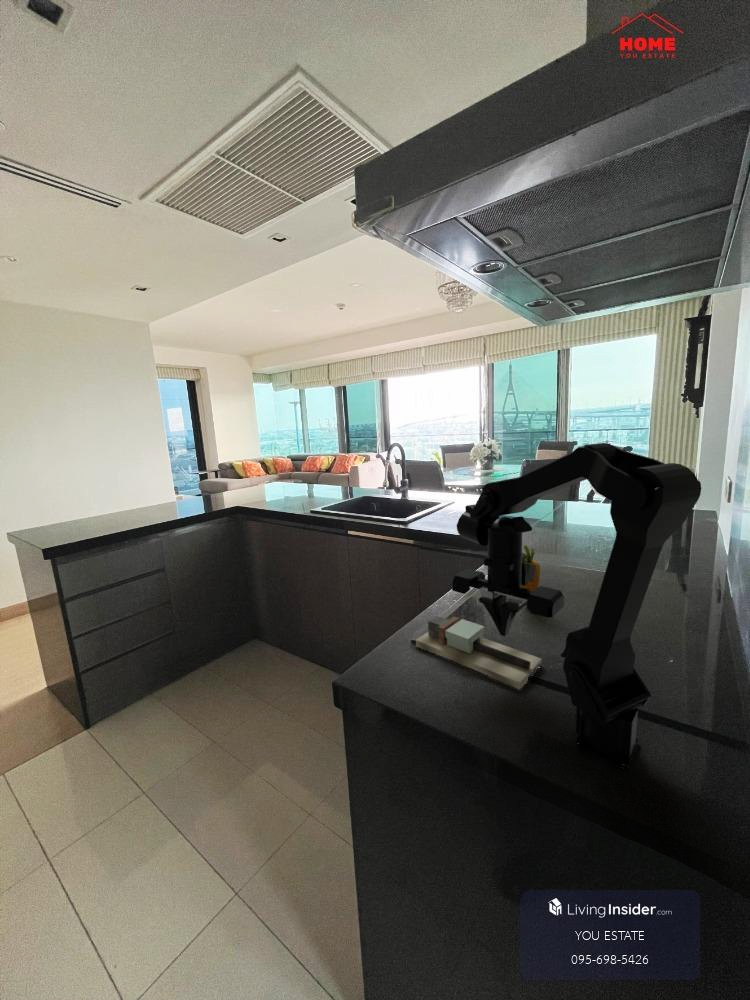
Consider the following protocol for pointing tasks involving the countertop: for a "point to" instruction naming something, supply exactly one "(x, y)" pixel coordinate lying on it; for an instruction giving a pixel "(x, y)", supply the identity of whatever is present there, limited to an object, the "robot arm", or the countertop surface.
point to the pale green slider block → (464, 635)
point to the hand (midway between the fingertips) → (504, 634)
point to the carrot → (534, 585)
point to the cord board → (480, 654)
